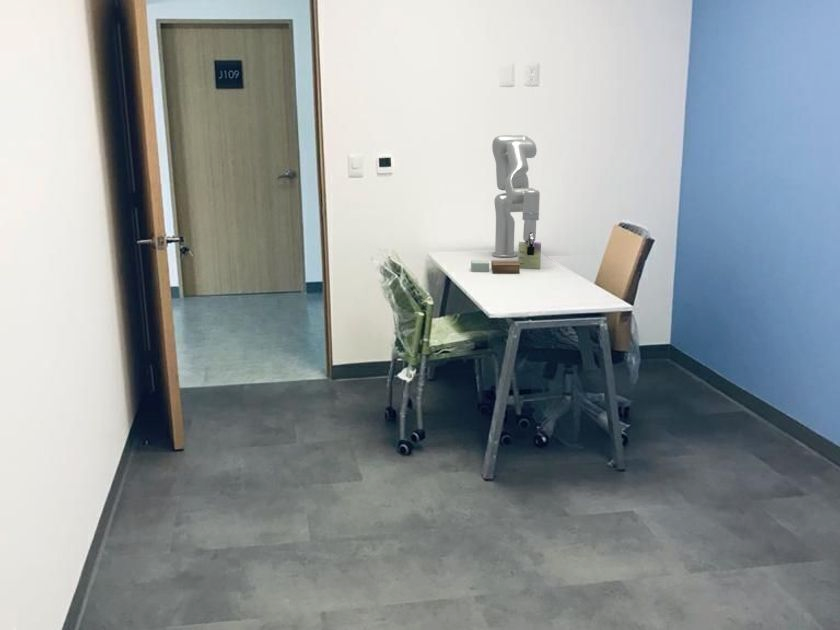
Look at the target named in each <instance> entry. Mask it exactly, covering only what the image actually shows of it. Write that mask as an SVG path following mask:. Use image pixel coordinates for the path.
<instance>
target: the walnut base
mask: <svg viewBox="0 0 840 630" xmlns="http://www.w3.org/2000/svg"><path fill="white" fill-rule="evenodd" d="M490 261H491V262H490V263H491V264H490V267H491V272H492V274H493V275H495V274H497V275H500V274H502V275H506V274H507V275H519V274H520V272H521V271H520V269H521V268H520V265H519V263H518V259H517V260H507V259H506V260H505V259H504V260H503V259H502V260H501V259H500V260H499V259H498V260H495V259H494V260H493V259H492V260H490Z"/></svg>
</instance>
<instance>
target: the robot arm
mask: <svg viewBox="0 0 840 630" xmlns="http://www.w3.org/2000/svg"><path fill="white" fill-rule="evenodd" d="M491 149H492V154H493V158H494V161H495V171H496V174H495V176H496V186H497V189H498V190H500V191H505V192H503V193H498V194H496V196H495V197H494V201H493V202H494V209H495V246H494V247H495V249H494V250H495V251H494V252H492V253H491V256H493V257H497V258H515V257H518V252H515V218H514V217H513V215H512V213H522V219H521V220H523V221H524V223H523V236H522V239H523V242H528V247H527V255H534V242H535V241H536V235H537V221H539V220H540V217H539V216H540V200H541V199H540V195H541V193H540V191H539V190H537V189H535V188H532V187H529V186H530V185H529V177H528V174H527V173H528V171H529V163H528V159H532V158H533V159H534V158H535V156H536V155H537V151H538V150H537V146H536V143H535V141H534V140H532V139H531V138H530V137H528V136H527V135H524V134H523V135H521V134H520V135H519V134H515V135H512V134H510V135H509V134H508V135H507V134H505V135H499V136H495V137H494V139H493V140H492V146H491Z"/></svg>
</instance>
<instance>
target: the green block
mask: <svg viewBox="0 0 840 630" xmlns="http://www.w3.org/2000/svg"><path fill="white" fill-rule="evenodd" d="M470 271H471V272H472V273H489V272H490V262H489V260H488V259H487V260H485V259H483V260H482V259H481V260H479V259H478V260H475V259H474V260H473V259H472V260H470Z"/></svg>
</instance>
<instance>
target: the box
mask: <svg viewBox="0 0 840 630" xmlns="http://www.w3.org/2000/svg"><path fill="white" fill-rule="evenodd" d="M527 247H528V242H525V241H518V252H517V261H518V263H519V265H520V269H533V270H534V269H541V254H542V243H541V242H538V241H537V242H535V241H534V255H527Z"/></svg>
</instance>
